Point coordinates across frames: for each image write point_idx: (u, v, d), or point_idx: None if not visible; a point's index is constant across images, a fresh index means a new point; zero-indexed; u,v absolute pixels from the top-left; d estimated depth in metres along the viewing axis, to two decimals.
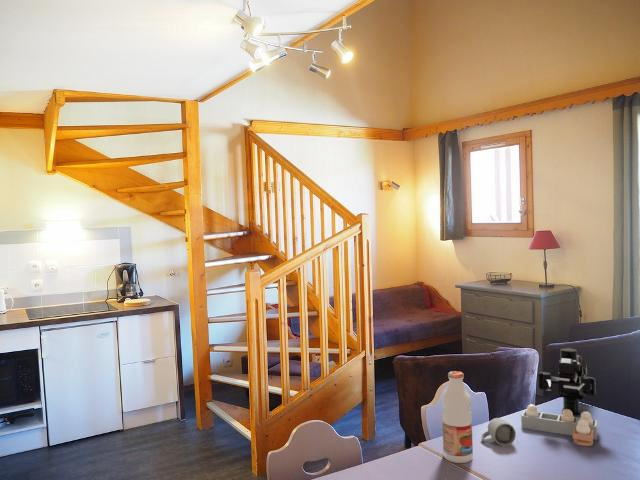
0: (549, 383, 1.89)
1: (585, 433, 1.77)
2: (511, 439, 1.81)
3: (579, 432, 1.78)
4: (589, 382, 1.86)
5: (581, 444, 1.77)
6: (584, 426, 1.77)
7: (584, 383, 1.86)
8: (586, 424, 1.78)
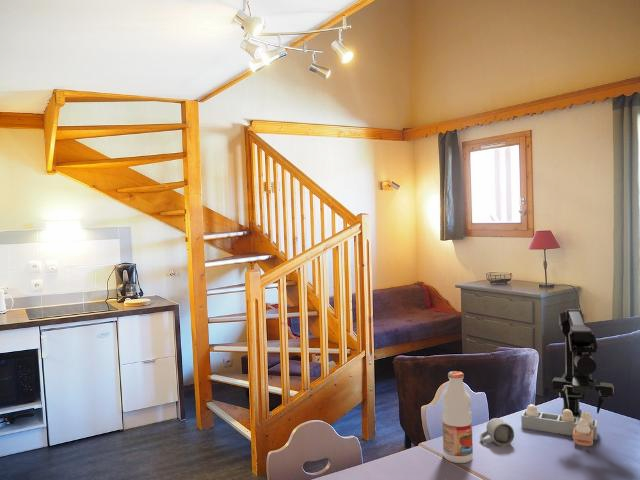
0: (566, 402, 1.81)
1: (585, 433, 1.77)
2: (509, 439, 1.81)
3: (579, 432, 1.78)
4: None
5: (581, 444, 1.77)
6: (584, 426, 1.77)
7: (602, 399, 1.74)
8: (586, 424, 1.78)
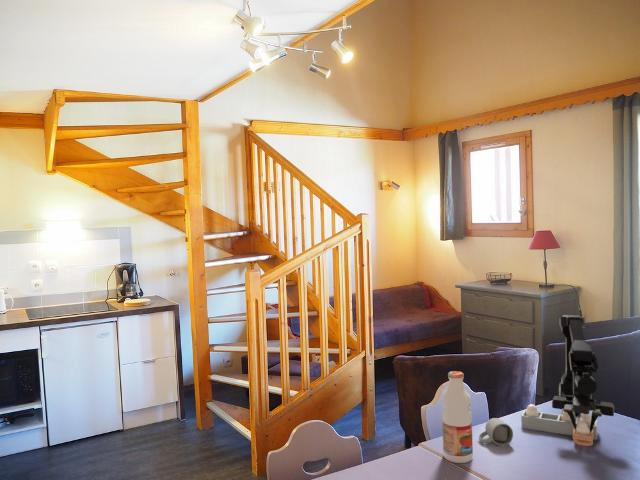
0: (573, 422, 1.80)
1: (585, 433, 1.77)
2: (508, 439, 1.81)
3: (579, 432, 1.78)
4: None
5: (581, 444, 1.77)
6: (584, 426, 1.77)
7: (595, 418, 1.76)
8: (586, 424, 1.78)
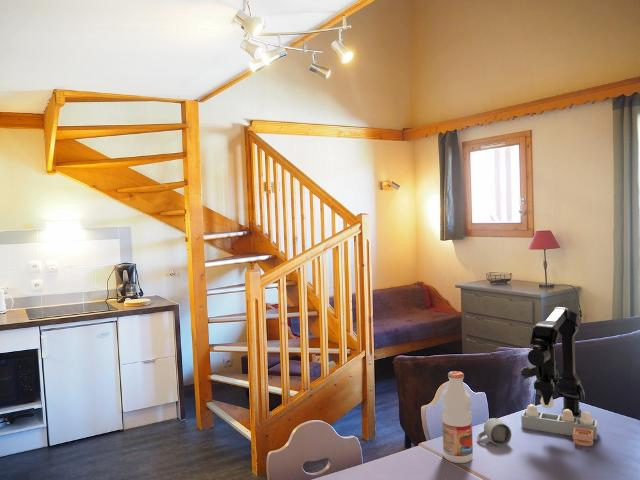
0: None
1: (541, 403, 1.86)
2: (506, 439, 1.81)
3: None
4: None
5: (581, 444, 1.77)
6: (542, 397, 1.86)
7: (540, 390, 1.83)
8: None
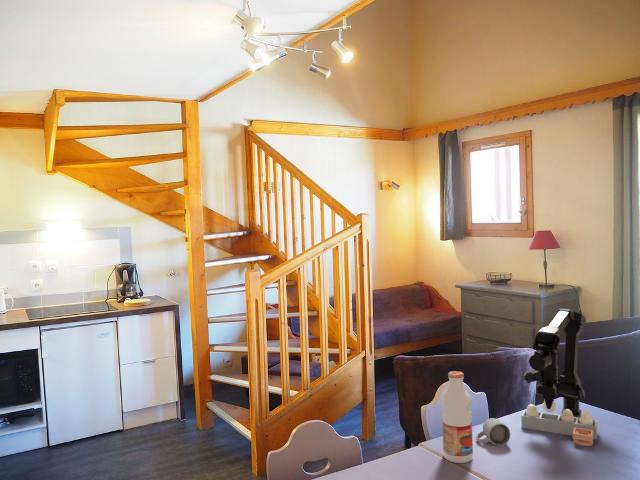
0: None
1: (543, 407, 1.92)
2: (505, 439, 1.81)
3: None
4: None
5: (581, 444, 1.77)
6: (544, 401, 1.92)
7: (543, 395, 1.89)
8: None
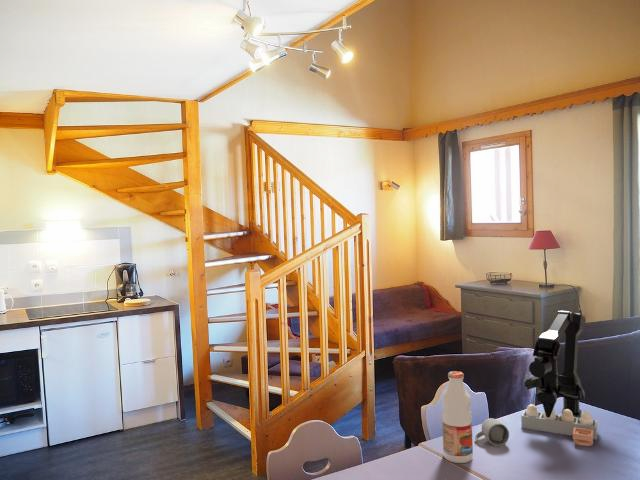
0: None
1: None
2: (504, 439, 1.81)
3: None
4: None
5: (581, 444, 1.77)
6: None
7: None
8: None
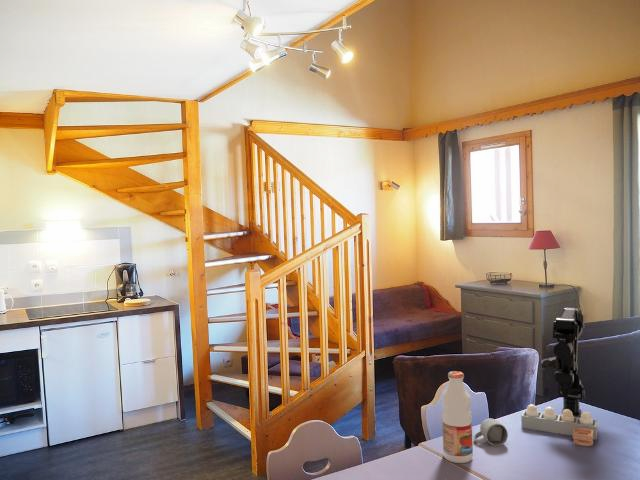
0: None
1: None
2: (503, 439, 1.81)
3: None
4: None
5: (581, 444, 1.77)
6: (545, 412, 1.92)
7: (559, 383, 1.90)
8: (546, 410, 1.91)
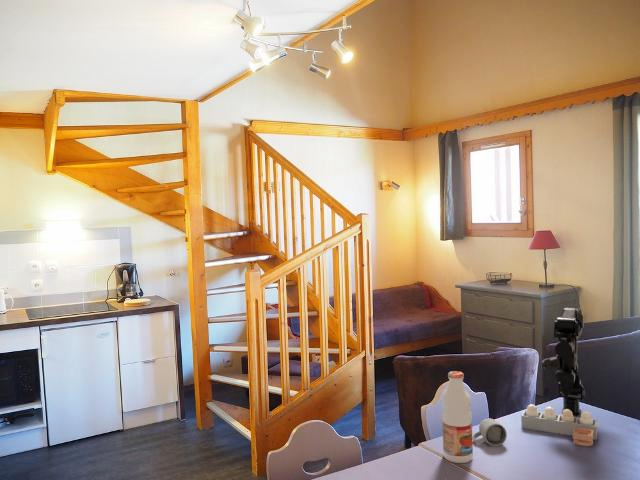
0: None
1: None
2: (502, 439, 1.81)
3: None
4: None
5: (581, 444, 1.77)
6: (545, 412, 1.92)
7: (560, 383, 1.90)
8: (546, 410, 1.91)
